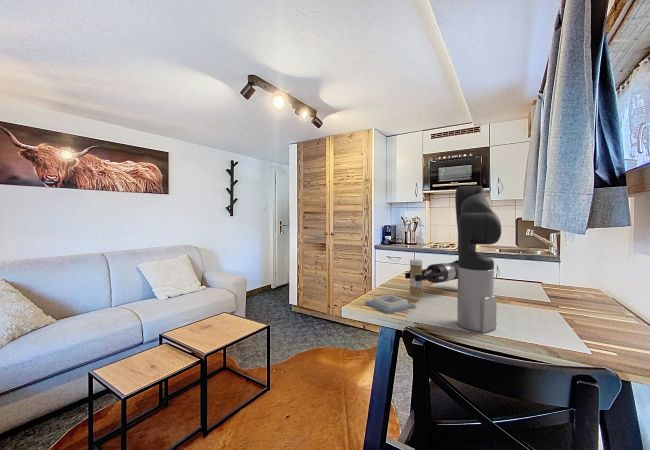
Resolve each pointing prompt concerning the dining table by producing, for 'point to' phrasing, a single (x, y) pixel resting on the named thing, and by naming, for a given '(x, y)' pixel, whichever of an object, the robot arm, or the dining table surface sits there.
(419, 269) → the sprinkles bottle
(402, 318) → the dining table surface
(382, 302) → the grey stepped square plate
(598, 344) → the dining table surface
